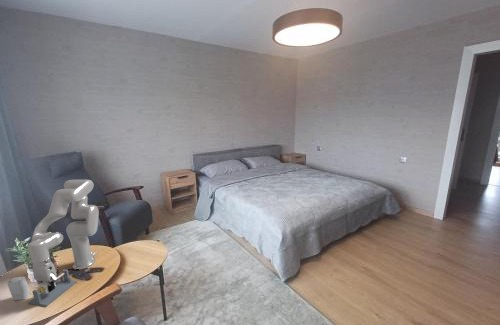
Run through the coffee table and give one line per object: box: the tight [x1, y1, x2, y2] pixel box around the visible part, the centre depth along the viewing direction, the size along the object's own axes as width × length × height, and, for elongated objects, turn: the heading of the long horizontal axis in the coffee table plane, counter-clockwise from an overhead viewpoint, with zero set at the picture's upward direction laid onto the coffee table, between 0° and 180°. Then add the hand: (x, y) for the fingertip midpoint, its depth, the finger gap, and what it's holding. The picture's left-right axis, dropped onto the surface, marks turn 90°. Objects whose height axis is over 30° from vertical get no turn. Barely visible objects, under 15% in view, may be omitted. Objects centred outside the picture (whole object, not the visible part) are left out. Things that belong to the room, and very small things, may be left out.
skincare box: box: [6, 276, 31, 301], centre depth 126 cm, size 6×4×12 cm
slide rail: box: [27, 269, 78, 307], centre depth 130 cm, size 18×12×8 cm, turn 171°
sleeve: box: [38, 280, 56, 293], centre depth 127 cm, size 5×4×4 cm
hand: (48, 289), depth 127 cm, fingers closed on sleeve, 4 cm apart
